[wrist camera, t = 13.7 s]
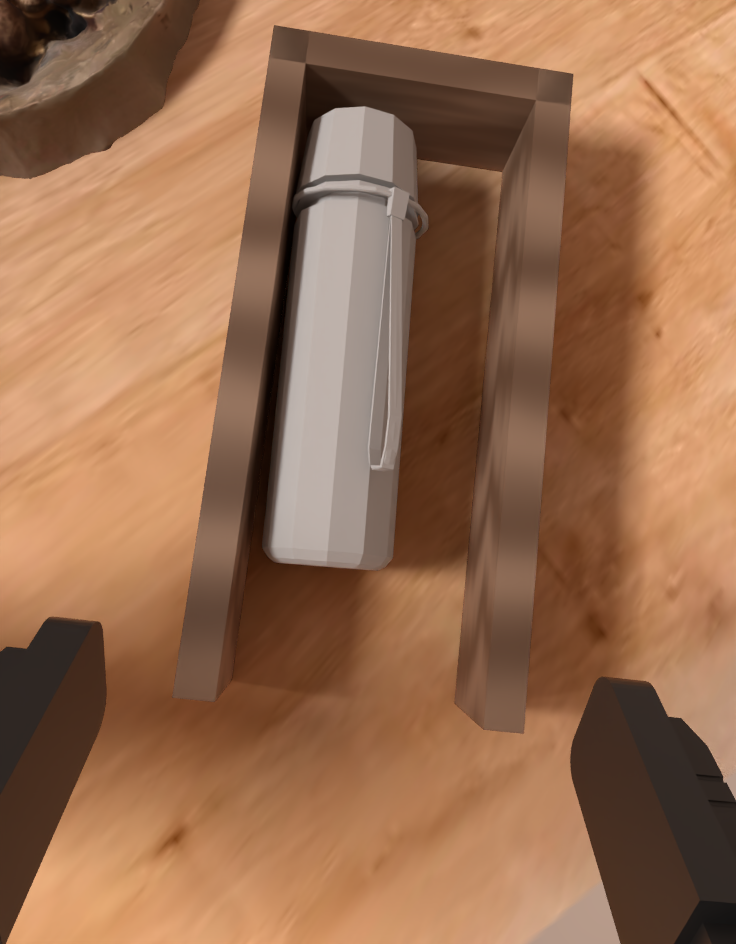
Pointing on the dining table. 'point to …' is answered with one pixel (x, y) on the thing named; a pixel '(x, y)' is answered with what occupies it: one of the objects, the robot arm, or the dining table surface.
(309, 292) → the water bottle
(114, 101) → the food dish
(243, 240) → the bottle rest
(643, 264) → the dining table surface
